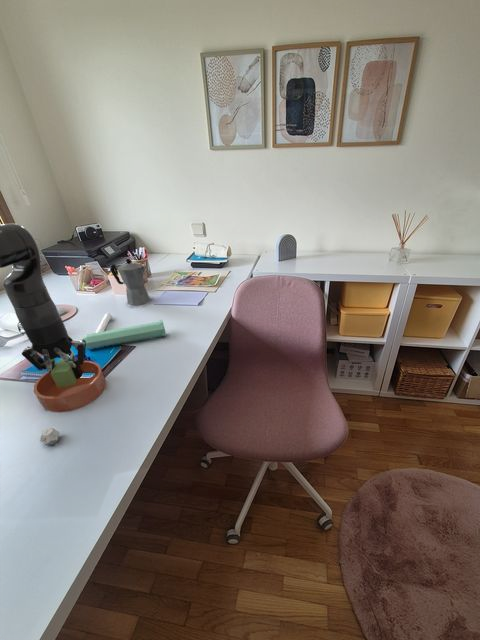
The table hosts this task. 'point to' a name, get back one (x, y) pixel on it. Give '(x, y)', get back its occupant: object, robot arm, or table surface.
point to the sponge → (63, 374)
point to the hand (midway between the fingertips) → (69, 378)
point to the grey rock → (49, 436)
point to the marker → (104, 323)
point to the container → (124, 335)
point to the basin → (70, 390)
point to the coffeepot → (132, 281)
